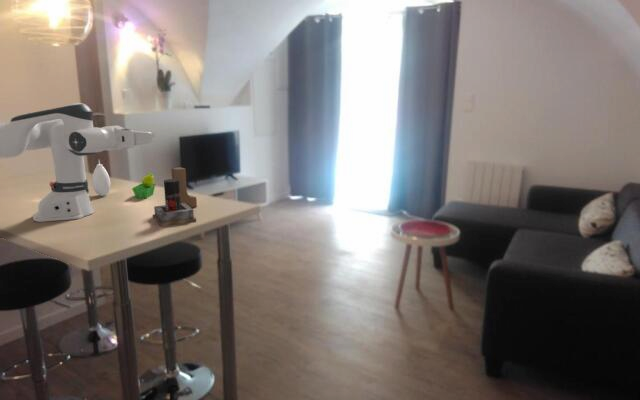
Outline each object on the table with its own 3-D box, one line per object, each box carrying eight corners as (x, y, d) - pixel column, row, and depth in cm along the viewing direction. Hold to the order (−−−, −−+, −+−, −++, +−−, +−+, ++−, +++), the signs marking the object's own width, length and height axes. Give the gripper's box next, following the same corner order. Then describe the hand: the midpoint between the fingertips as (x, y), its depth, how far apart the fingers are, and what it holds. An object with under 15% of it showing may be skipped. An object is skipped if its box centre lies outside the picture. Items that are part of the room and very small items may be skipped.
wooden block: (192, 204, 214) (189, 165, 209) (197, 206, 211) (195, 167, 206) (173, 208, 208) (171, 168, 203) (178, 210, 204) (176, 169, 200)
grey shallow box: (160, 226, 182) (159, 214, 181) (152, 217, 194) (151, 206, 192) (196, 221, 189) (195, 210, 188) (186, 212, 201) (186, 202, 199)
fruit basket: (141, 193, 234) (139, 171, 231) (159, 193, 234) (157, 171, 231) (132, 199, 223) (129, 175, 220) (150, 199, 223) (148, 176, 220)
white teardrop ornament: (96, 198, 223) (92, 160, 219) (91, 195, 229) (87, 158, 225) (113, 195, 228) (110, 159, 224) (108, 192, 234) (104, 157, 230)
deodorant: (184, 215, 192) (182, 179, 189) (174, 219, 187) (172, 182, 183) (173, 213, 195) (170, 178, 191) (163, 217, 189) (160, 181, 186)
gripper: (97, 144, 180) (127, 140, 192) (134, 148, 171) (163, 144, 182) (95, 127, 179) (126, 124, 190) (132, 130, 169) (162, 127, 181)
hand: (144, 134), depth 186 cm, fingers open, 8 cm apart
